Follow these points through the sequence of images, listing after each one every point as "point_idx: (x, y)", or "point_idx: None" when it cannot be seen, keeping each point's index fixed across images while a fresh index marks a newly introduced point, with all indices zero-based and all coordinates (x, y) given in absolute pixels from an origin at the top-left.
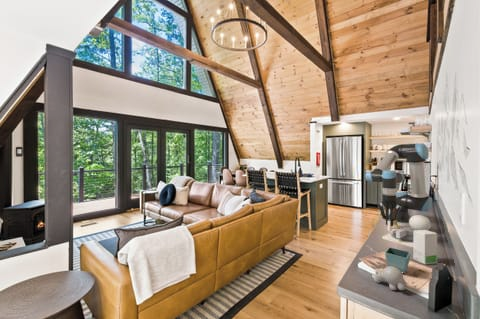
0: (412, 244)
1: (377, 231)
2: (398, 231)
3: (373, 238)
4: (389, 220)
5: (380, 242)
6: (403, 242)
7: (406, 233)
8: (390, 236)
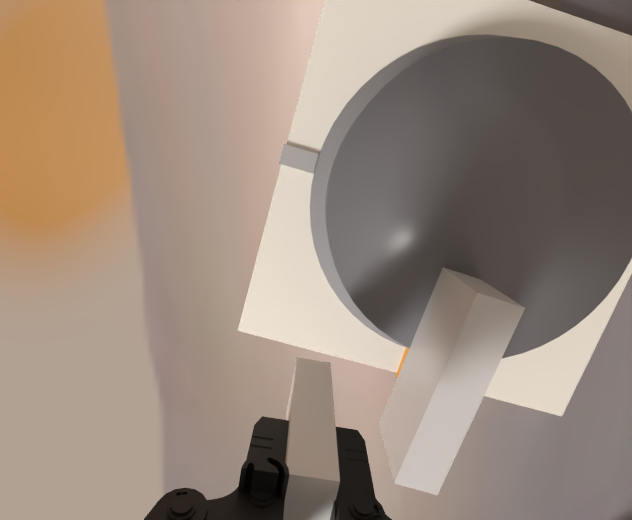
0: (509, 394)
1: (138, 73)
2: (424, 477)
3: (169, 365)
4: (302, 510)
5: (247, 433)
6: None
7: (487, 188)
8: (310, 275)
